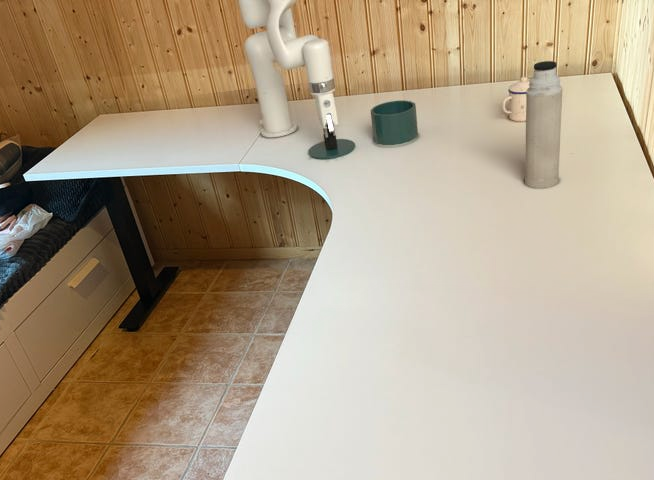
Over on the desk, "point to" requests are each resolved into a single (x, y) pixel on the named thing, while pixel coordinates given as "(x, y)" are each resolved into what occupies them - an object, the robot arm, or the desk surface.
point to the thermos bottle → (543, 126)
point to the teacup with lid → (517, 100)
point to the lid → (322, 152)
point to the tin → (394, 122)
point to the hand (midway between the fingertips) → (331, 147)
